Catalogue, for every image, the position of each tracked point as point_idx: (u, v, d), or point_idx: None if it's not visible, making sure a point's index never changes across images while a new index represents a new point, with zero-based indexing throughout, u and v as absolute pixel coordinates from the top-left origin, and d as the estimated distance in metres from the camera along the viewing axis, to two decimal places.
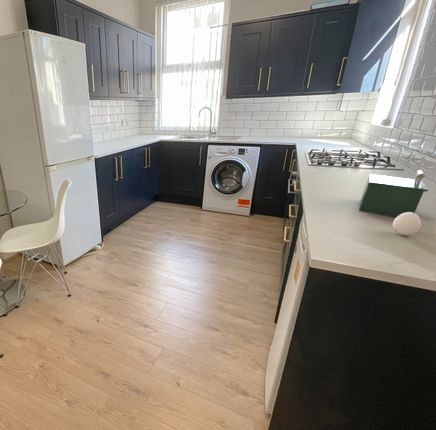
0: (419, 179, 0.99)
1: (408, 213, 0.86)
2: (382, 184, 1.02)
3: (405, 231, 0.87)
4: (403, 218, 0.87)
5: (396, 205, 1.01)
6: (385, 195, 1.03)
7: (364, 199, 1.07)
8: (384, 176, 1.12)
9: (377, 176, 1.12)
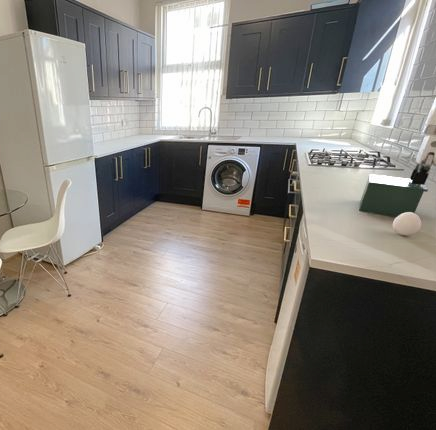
0: None
1: (408, 213, 0.86)
2: (382, 184, 1.02)
3: (405, 231, 0.87)
4: (403, 218, 0.87)
5: (396, 205, 1.01)
6: (385, 195, 1.03)
7: (364, 199, 1.07)
8: (384, 176, 1.12)
9: (377, 176, 1.12)
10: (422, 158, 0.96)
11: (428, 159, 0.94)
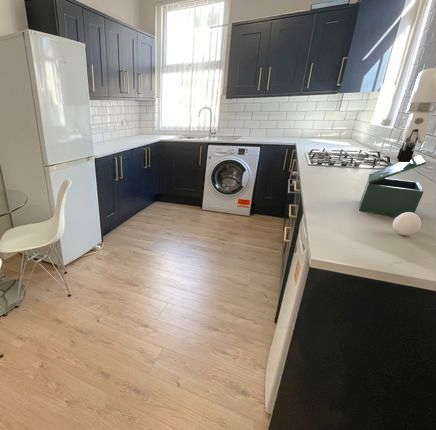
0: None
1: (408, 213, 0.86)
2: (381, 178, 1.02)
3: (405, 231, 0.87)
4: (403, 218, 0.87)
5: (396, 205, 1.01)
6: (385, 195, 1.03)
7: (364, 199, 1.07)
8: (383, 169, 1.11)
9: (376, 172, 1.12)
10: (407, 135, 0.97)
11: (412, 136, 0.95)
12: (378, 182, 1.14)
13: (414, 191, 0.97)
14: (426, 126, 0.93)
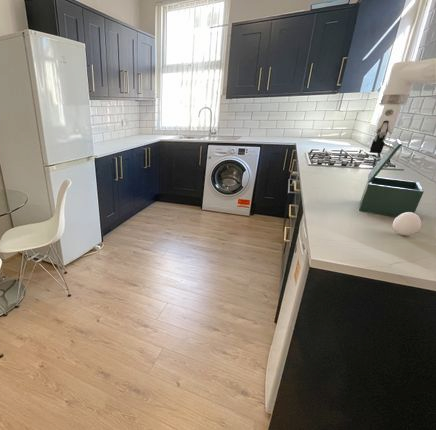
0: (386, 145, 1.02)
1: (408, 213, 0.86)
2: (376, 173, 1.03)
3: (405, 231, 0.87)
4: (403, 218, 0.87)
5: (396, 205, 1.01)
6: (385, 195, 1.03)
7: (364, 199, 1.07)
8: (376, 165, 1.12)
9: (372, 170, 1.12)
10: (378, 127, 1.01)
11: (383, 127, 0.99)
12: (378, 182, 1.14)
13: (414, 191, 0.97)
14: (395, 118, 0.97)
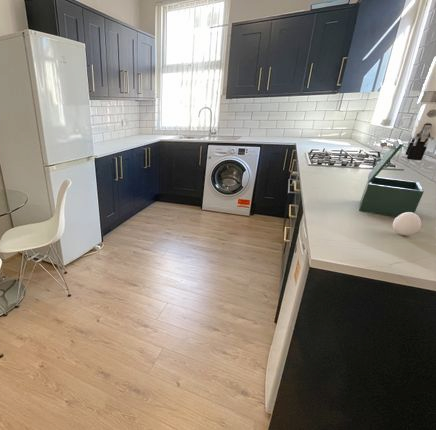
0: (387, 146, 1.02)
1: (408, 213, 0.86)
2: (376, 173, 1.03)
3: (405, 231, 0.87)
4: (403, 218, 0.87)
5: (396, 205, 1.01)
6: (385, 195, 1.03)
7: (364, 199, 1.07)
8: (376, 165, 1.12)
9: (372, 170, 1.12)
10: (417, 131, 0.82)
11: (426, 128, 0.80)
12: (378, 182, 1.14)
13: (414, 191, 0.97)
14: None
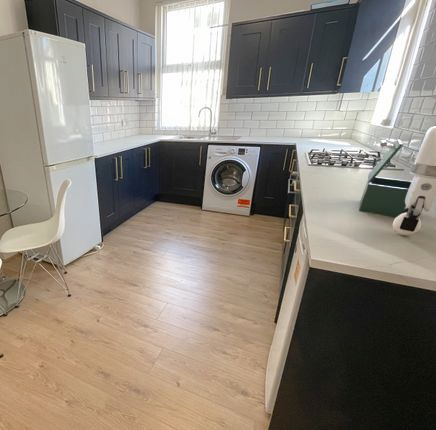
0: (387, 146, 1.02)
1: None
2: (376, 173, 1.03)
3: (405, 231, 0.87)
4: None
5: (396, 205, 1.01)
6: (385, 195, 1.03)
7: (364, 199, 1.07)
8: (376, 165, 1.12)
9: (372, 170, 1.12)
10: (411, 202, 0.82)
11: (418, 204, 0.80)
12: (378, 182, 1.14)
13: None
14: (434, 194, 0.79)
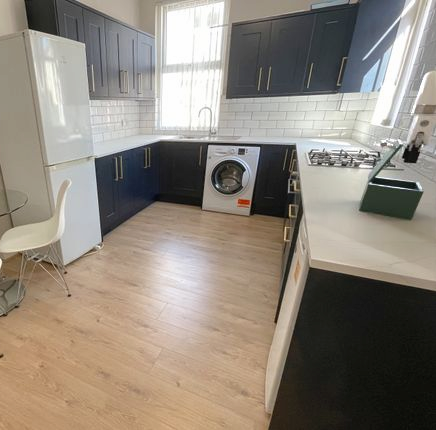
0: (387, 146, 1.02)
1: None
2: (376, 173, 1.03)
3: None
4: None
5: (396, 205, 1.01)
6: (385, 195, 1.03)
7: (364, 199, 1.07)
8: (376, 165, 1.12)
9: (372, 170, 1.12)
10: (412, 138, 0.96)
11: (419, 136, 0.93)
12: (378, 182, 1.14)
13: (414, 191, 0.97)
14: (431, 129, 0.92)
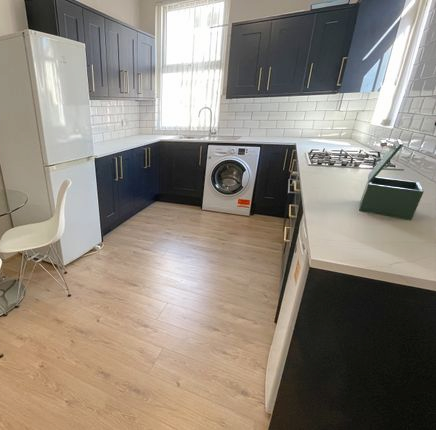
0: (387, 146, 1.02)
1: None
2: (376, 173, 1.03)
3: None
4: None
5: (396, 205, 1.01)
6: (385, 195, 1.03)
7: (364, 199, 1.07)
8: (376, 165, 1.12)
9: (372, 170, 1.12)
10: None
11: None
12: (378, 182, 1.14)
13: (414, 191, 0.97)
14: None
